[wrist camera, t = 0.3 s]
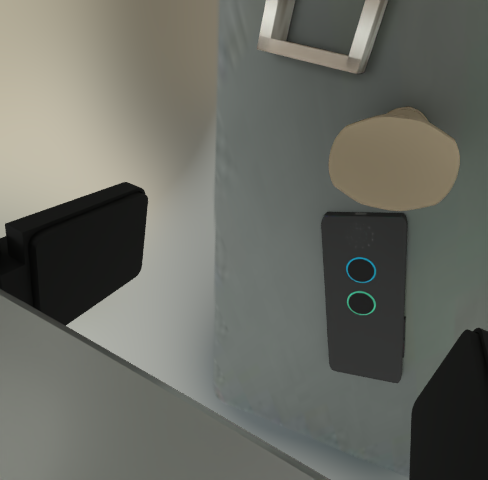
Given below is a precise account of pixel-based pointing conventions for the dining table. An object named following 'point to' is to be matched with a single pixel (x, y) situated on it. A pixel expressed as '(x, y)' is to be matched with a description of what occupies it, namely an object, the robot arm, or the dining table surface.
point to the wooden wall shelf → (275, 42)
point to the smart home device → (365, 292)
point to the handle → (394, 161)
